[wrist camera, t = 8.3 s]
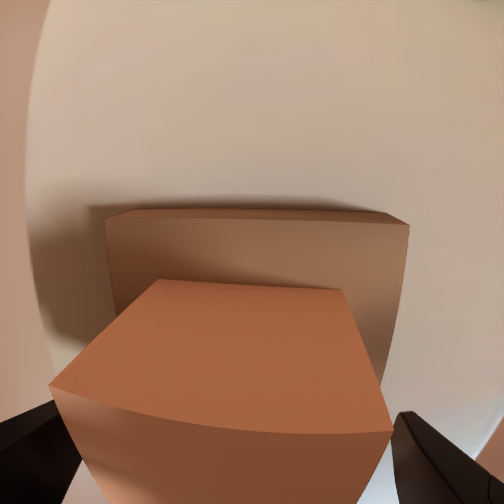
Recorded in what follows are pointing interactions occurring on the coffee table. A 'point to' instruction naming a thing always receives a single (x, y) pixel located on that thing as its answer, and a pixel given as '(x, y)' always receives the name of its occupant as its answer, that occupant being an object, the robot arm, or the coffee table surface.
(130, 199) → the coffee table surface
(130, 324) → the terracotta cube
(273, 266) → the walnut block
